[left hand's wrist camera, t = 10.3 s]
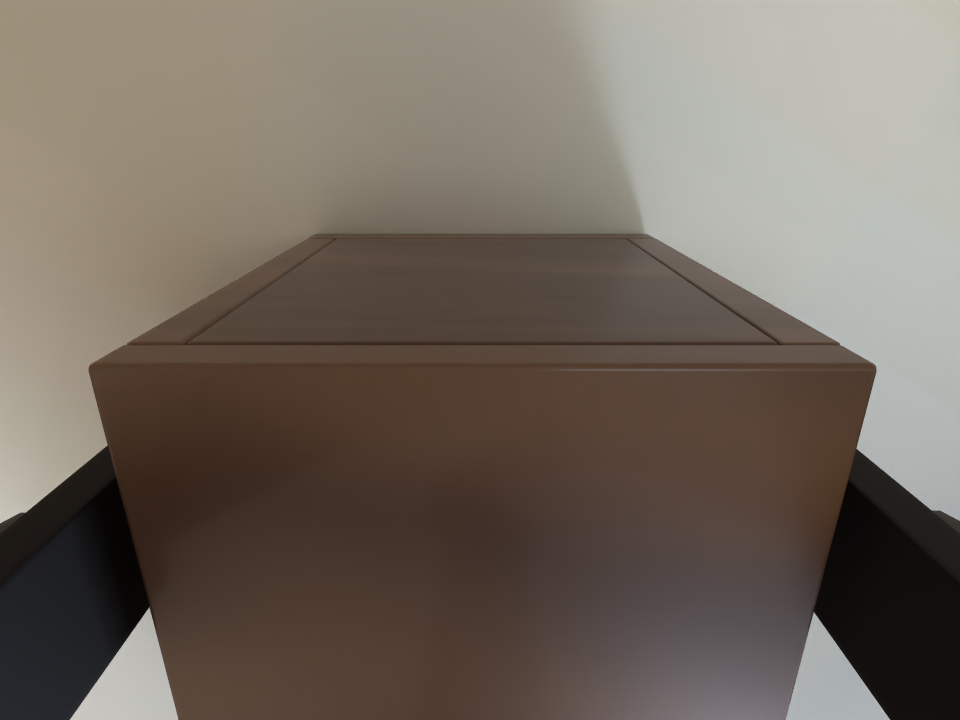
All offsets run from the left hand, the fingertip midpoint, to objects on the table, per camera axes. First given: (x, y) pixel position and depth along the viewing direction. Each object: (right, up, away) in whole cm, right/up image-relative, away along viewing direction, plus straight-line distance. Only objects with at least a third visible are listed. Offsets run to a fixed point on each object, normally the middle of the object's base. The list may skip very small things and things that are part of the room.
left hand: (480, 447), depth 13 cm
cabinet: (0, -3, +8) cm, 8 cm away
